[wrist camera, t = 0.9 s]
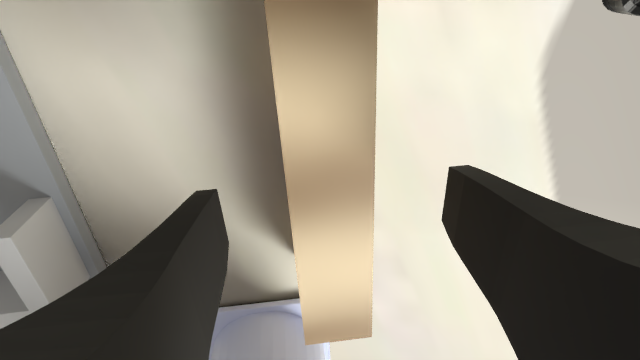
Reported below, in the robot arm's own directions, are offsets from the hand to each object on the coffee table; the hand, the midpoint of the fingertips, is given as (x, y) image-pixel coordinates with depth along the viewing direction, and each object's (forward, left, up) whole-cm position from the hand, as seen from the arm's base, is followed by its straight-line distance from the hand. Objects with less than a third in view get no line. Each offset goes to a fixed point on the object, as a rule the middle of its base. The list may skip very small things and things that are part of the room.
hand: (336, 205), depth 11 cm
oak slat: (0, 0, -7) cm, 7 cm away
